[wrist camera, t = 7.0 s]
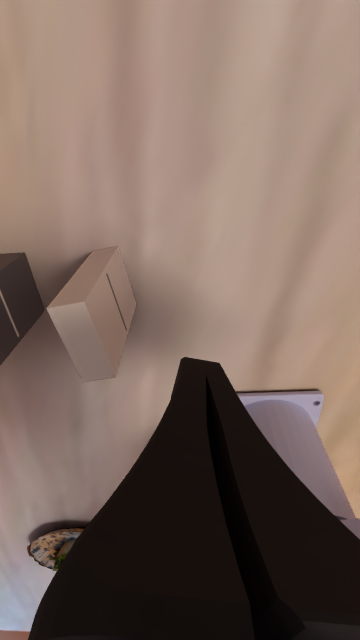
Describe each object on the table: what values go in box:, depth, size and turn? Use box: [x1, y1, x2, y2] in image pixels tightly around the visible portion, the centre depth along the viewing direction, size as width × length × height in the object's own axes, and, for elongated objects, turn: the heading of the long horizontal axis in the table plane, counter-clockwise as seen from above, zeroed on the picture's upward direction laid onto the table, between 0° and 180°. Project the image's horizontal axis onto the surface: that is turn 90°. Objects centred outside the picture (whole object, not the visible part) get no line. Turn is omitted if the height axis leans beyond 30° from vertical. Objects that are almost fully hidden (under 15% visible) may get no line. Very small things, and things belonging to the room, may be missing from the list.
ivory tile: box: [46, 246, 136, 382], centre depth 16 cm, size 4×2×7 cm, turn 11°
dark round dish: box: [27, 528, 84, 571], centre depth 35 cm, size 12×12×8 cm
